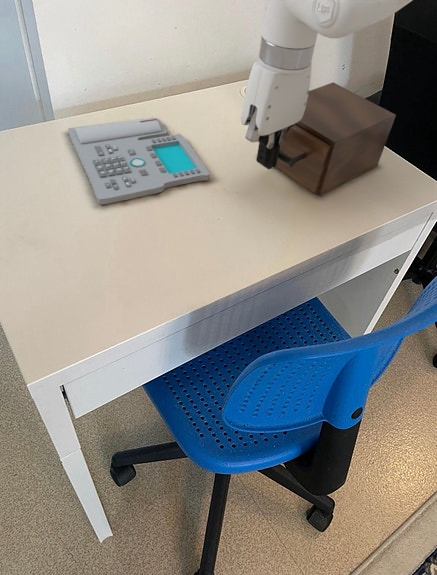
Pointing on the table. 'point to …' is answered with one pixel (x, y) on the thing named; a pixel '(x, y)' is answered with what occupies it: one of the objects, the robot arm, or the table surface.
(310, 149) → the drawer
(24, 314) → the table surface
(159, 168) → the office telephone
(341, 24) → the robot arm
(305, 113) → the cabinet
